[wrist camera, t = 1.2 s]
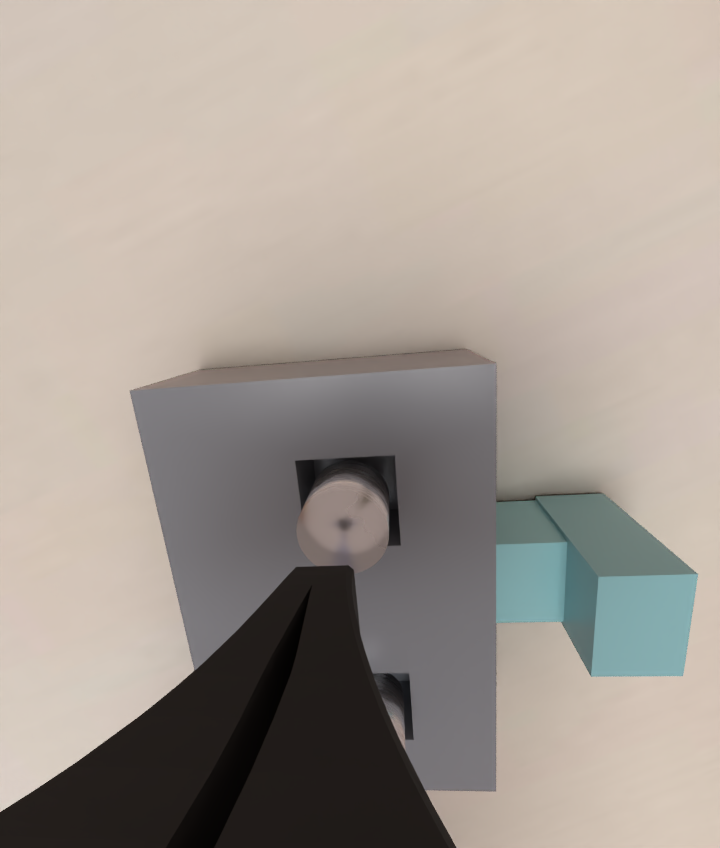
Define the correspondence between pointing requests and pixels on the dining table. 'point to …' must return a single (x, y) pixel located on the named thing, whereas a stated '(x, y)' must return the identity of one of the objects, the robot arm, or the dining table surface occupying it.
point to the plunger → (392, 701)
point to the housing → (408, 520)
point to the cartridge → (595, 583)
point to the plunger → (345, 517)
